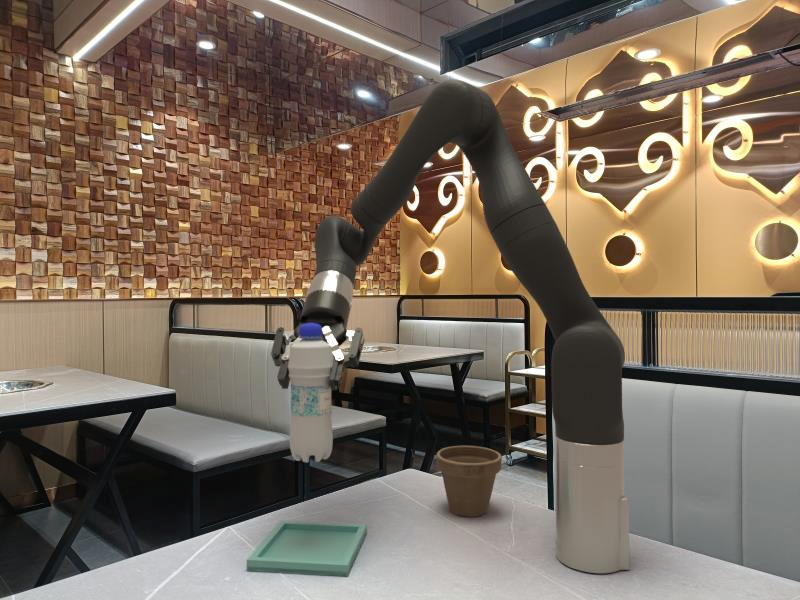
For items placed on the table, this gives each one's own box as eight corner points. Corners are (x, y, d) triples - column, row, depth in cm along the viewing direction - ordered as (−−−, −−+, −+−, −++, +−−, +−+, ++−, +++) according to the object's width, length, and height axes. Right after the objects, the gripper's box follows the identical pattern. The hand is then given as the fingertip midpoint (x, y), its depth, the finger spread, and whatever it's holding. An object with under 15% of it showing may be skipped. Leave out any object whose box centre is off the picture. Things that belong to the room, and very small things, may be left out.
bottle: (325, 466, 79) (325, 323, 79) (280, 463, 81) (280, 323, 81) (340, 453, 86) (339, 321, 86) (298, 451, 87) (297, 321, 87)
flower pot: (507, 523, 93) (507, 462, 93) (438, 523, 93) (438, 462, 93) (496, 499, 105) (495, 445, 105) (434, 499, 105) (434, 445, 105)
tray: (366, 534, 89) (366, 524, 89) (347, 576, 75) (347, 565, 75) (280, 530, 91) (280, 520, 91) (246, 570, 77) (246, 559, 77)
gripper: (280, 288, 92) (253, 369, 80) (368, 287, 90) (353, 370, 78) (291, 320, 97) (266, 400, 85) (373, 320, 95) (360, 402, 83)
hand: (308, 385), depth 82 cm, fingers closed on bottle, 6 cm apart
